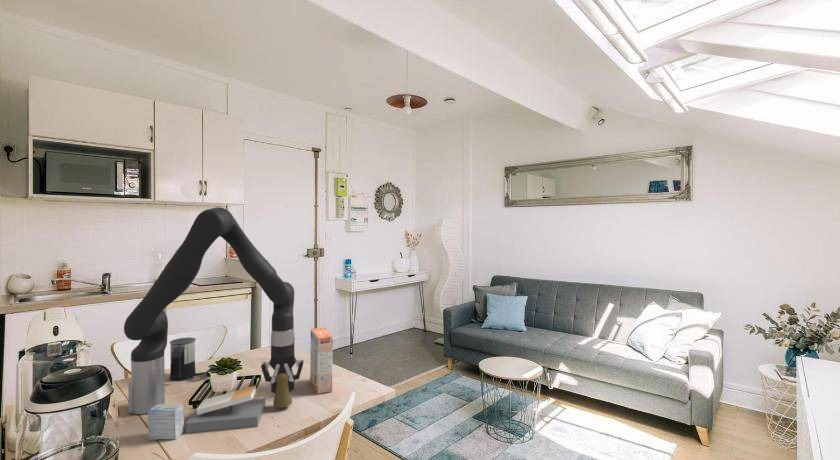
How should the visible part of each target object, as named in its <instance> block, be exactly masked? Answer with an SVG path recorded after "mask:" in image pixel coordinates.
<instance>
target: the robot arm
mask: <svg viewBox="0 0 840 460" xmlns="http://www.w3.org/2000/svg"><path fill="white" fill-rule="evenodd" d="M219 237H220V238H222V239H223V240H224V241H225V242H227V244H228V245H229V246H230V247H231V248H232V250H233V251H234V253H235V255H236V257H237V258H238V260H239V263H240V264H241V266H242V268H243V269H244V270H245V272H246V273H247V274H248V275H249V276H250V277H251V278H252V279H253V280H254V281H255V282H256V283H257V284H258V285H259V286H260V288H261V290H262V291H263V292H264V294H265V295H266V297H268V299H269V300H270V301H271V302H272V303H273V304H272V305H273V312H272V315H271V333H270V360H269V361H266V362H265V361H263V362H262V363H261V366H260V369H261V371H262V374H263V378H264V381H265V382H266V383H268V382H269V383H270V391H271V393H272V394H274V395H275V389H276V381H275V377H276V376H277V373H280V372H287V374H288V376H289V379H290V380H289V392H291V393H292V391H294V389H295V381H296V380H299V379H300V376H301V373H302V370H303V366H304V362H305V361H304V359H301V360H299V359H296V356H295V339H296V338H295V330H294V328H295V327H294V306H295V289H294V286H293V285H292V283H290V282H289V281H288V282H287V281H284V280H283V279H282V278H281V277H280V276H279V275H278V273H277V270H276V269H275V268H274V266H273V265H272V264H271V263H270V262H269V261H268V259H266V258H265V257H264V256H263V255H262V254H261V252H260V251H259V250H258V249H257V248H256V247H255V245H254V244H253V243H252V242H251V240H250V238H248V236H247V235H246V233H245V232H244V231H243V229H242V228H241V226H240V224H239V223H238V222H237V220H236V218H235V217H234V216H233V214H232V213H231V212H230V211H229V210H228V209H226V208H224V207H220V206H219V207H212V208H209V209H208V208H207V209H204V210H203V211H201V212H200V213H199V214H197V216H196V217H195V220H194V221H193V224H192V225H191V227H190V229H189V230H188V233H187V235H186V237H185V238H184V240H183V242H182V243H181V245H180V246H179V247H178V248H177V250H175V252H174V254H173V255H172V256H171V257H170V259H169V261H168V262H167V263H166V265H165V267H164V268H162V269H163V270H162V271H161V272H160V274H159V275H158V277H157V279H156V280H155V282H154V283H153V284H152V286H151V287H150V288H149V290H148V291H147V293H146V294H145V296H144V297H143V298H142V299H141V301H140V302H138V304H137V305H136V307H135V308H134V309H133V310H132V311H131V312H130V313H129V315H128V316H127V318H126V319H125V321H124V324H123V333H124V335H125V337H126V338H127V339H129V340H130V341H139V343H138V345H136V346H135V347H134V348H133V350H131V351H130V352H131V353H130V360H131V361H130V380H131V381H130V383H129V384H128V385H127V386H128V388H127V389H128V395H127V396H128V403H127V404H128V414H133V415H146V413H147V414H148V411H149V410H150V409H152V408H153V407H154V406H156V405H157V404H166V401H165V400H166V398H165V397H166V396H165V395H166V389H165V388H166V386H165V385H166V384H165V383H166V382H165V380H166V378H165V374H166V373H165V351H166V348H167V346H168V333H169V332H168V331H169V330H168V329H169V320H168V316H167V314H166V312H165V311H164V309H165V308H166V307H168V306H169V305H171V304H172V303H173V302H174V301H175V300H176V299H178V298H179V297H181V295H182V294H184V293H185V291H186V290H187V289H188V288H189V287H190V286H191V284H192V283H193V282H194V280H195V278H196V277H197V275H198V274H199V272H200V269H201V266H202V262H203V258H204V257H205V254H206V252H208V250H209V249H210V247H211V246H212V245H213V243H215V241H216V240H217V239H218V238H219ZM295 364H296V368H297V371H296V374H294V372H293V371H294V370H293V367H294V365H295ZM270 367H271V369H273V374H272V376H270V372H269V369H270Z"/></svg>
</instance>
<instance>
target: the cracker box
mask: <svg viewBox="0 0 840 460" xmlns="http://www.w3.org/2000/svg"><path fill="white" fill-rule="evenodd" d="M333 339H334V337H333V335H332V334H331V333H330V332H329V331H328V330H327V329H326V327H317V328H311V329H310V367H309V368H310V372H309V375H310V376H309V379H310V383H311V385H312V387H313V389H314V391H315V392H316V394H317V395H320V394H325V393H326V394H327V393H331V392H333V350H334V349H333V348H334V347H333V346H334V345H333V341H334V340H333Z"/></svg>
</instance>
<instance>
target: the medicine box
mask: <svg viewBox="0 0 840 460" xmlns="http://www.w3.org/2000/svg"><path fill="white" fill-rule="evenodd" d="M184 413H185V412H184V403H165V404H157V405H156V406H154V407H153V408H152V409H150V410H149V411H148V413H147V427H148V428H147V430H148V435H147V436H148V440H149V441H154V440H156V441H158V439H166V440H177V439H179V437H180V436H181V435H182V434H183V433H184V432H185V418H184V417H185V415H184Z"/></svg>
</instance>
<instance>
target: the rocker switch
mask: <svg viewBox="0 0 840 460" xmlns="http://www.w3.org/2000/svg"><path fill="white" fill-rule="evenodd" d="M256 392H257V386H256V385H252V386H247V387H244V388H242V389H237V390H234V391H231V392H227V393H224V394H220V395H217V396H213V397H209V398H205V399H203V400H202V401H201V403H200V404H199V405H198V406H199V407H198V406H197V408H196V409H197V410H196V409H195V410H196V411H197V415H199V414H203V413H206V412H210V411H213V410H217V409H221V408H224V407H228V406H231V405H235V404H238V403H242V402H246V401H249V400H252V399H254V396H255V395H256Z"/></svg>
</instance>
